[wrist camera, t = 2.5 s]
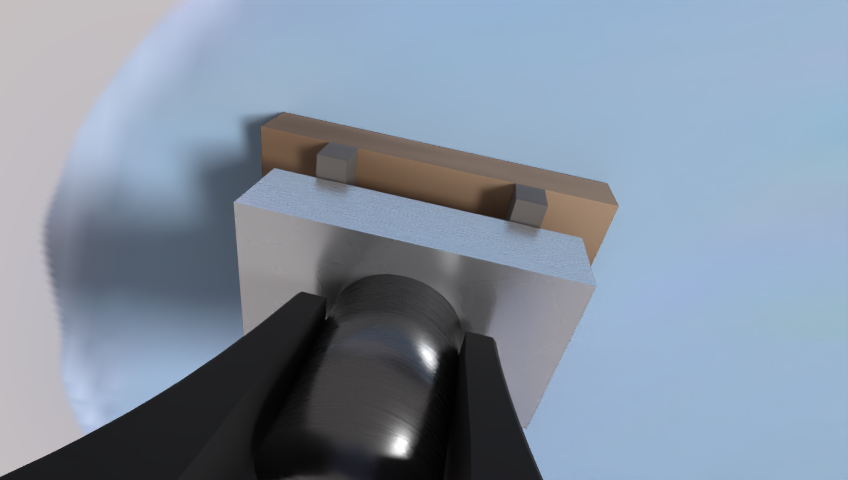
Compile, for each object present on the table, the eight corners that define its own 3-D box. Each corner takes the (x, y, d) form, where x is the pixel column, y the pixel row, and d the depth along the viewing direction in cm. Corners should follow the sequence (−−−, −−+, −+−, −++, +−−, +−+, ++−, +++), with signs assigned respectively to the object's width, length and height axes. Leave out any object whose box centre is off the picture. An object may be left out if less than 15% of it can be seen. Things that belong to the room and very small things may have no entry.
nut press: (466, 506, 23) (456, 640, 18) (285, 459, 23) (231, 578, 19) (607, 183, 13) (665, 300, 8) (283, 112, 13) (165, 184, 9)
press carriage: (524, 372, 14) (535, 609, 8) (277, 311, 14) (145, 505, 9) (582, 237, 11) (650, 467, 6) (274, 168, 11) (83, 326, 6)
